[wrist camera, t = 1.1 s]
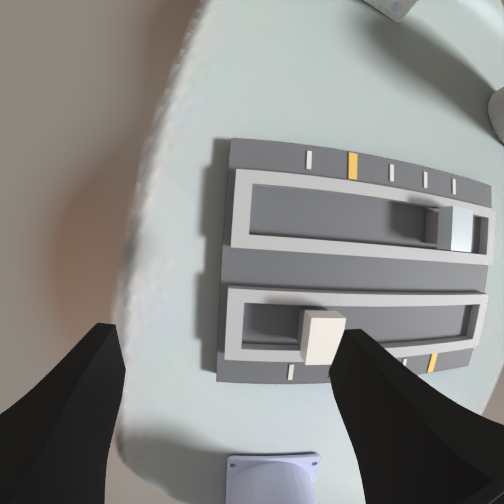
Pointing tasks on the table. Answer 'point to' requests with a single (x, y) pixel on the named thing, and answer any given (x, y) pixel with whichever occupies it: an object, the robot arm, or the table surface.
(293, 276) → the console
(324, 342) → the fader
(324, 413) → the table surface
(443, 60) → the table surface
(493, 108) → the coffee cup
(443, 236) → the fader
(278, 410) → the table surface
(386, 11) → the light bulb box
